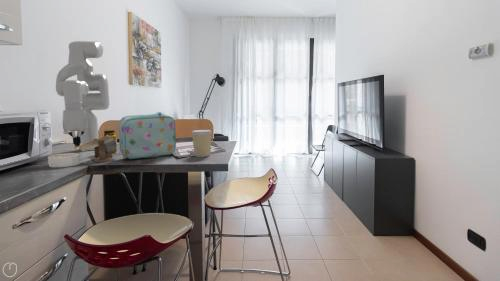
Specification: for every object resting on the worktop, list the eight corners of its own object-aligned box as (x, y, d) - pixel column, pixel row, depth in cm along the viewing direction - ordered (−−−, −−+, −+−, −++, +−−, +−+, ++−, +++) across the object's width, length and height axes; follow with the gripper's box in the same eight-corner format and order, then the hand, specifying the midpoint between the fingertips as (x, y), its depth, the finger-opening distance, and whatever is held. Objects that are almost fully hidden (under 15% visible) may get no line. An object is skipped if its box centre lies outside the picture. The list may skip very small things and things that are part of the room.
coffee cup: (213, 153, 179) (212, 129, 178) (210, 156, 170) (209, 131, 169) (195, 153, 180) (194, 129, 179) (190, 157, 171) (189, 131, 169)
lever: (76, 156, 175) (71, 144, 173) (105, 145, 183) (101, 133, 181) (85, 161, 162) (80, 147, 160) (117, 148, 170) (112, 135, 168)
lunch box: (171, 152, 187) (168, 111, 184) (179, 154, 179) (177, 111, 176) (118, 158, 172) (115, 113, 169) (125, 161, 163) (122, 114, 161)
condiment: (120, 152, 190) (118, 130, 188) (103, 155, 184) (102, 131, 182) (114, 151, 195) (112, 129, 193) (98, 153, 189) (96, 130, 188)
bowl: (46, 164, 160) (45, 155, 160) (76, 160, 168) (76, 152, 167) (52, 168, 151) (51, 158, 150) (83, 164, 158) (83, 155, 158)
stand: (91, 159, 171) (89, 139, 170) (107, 157, 176) (106, 137, 175) (98, 162, 163) (96, 140, 161) (115, 160, 167) (113, 139, 166)
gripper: (88, 106, 177) (91, 143, 179) (54, 107, 168) (58, 146, 170) (92, 106, 171) (95, 144, 173) (57, 107, 162) (61, 147, 164)
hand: (77, 145), depth 172 cm, fingers closed
